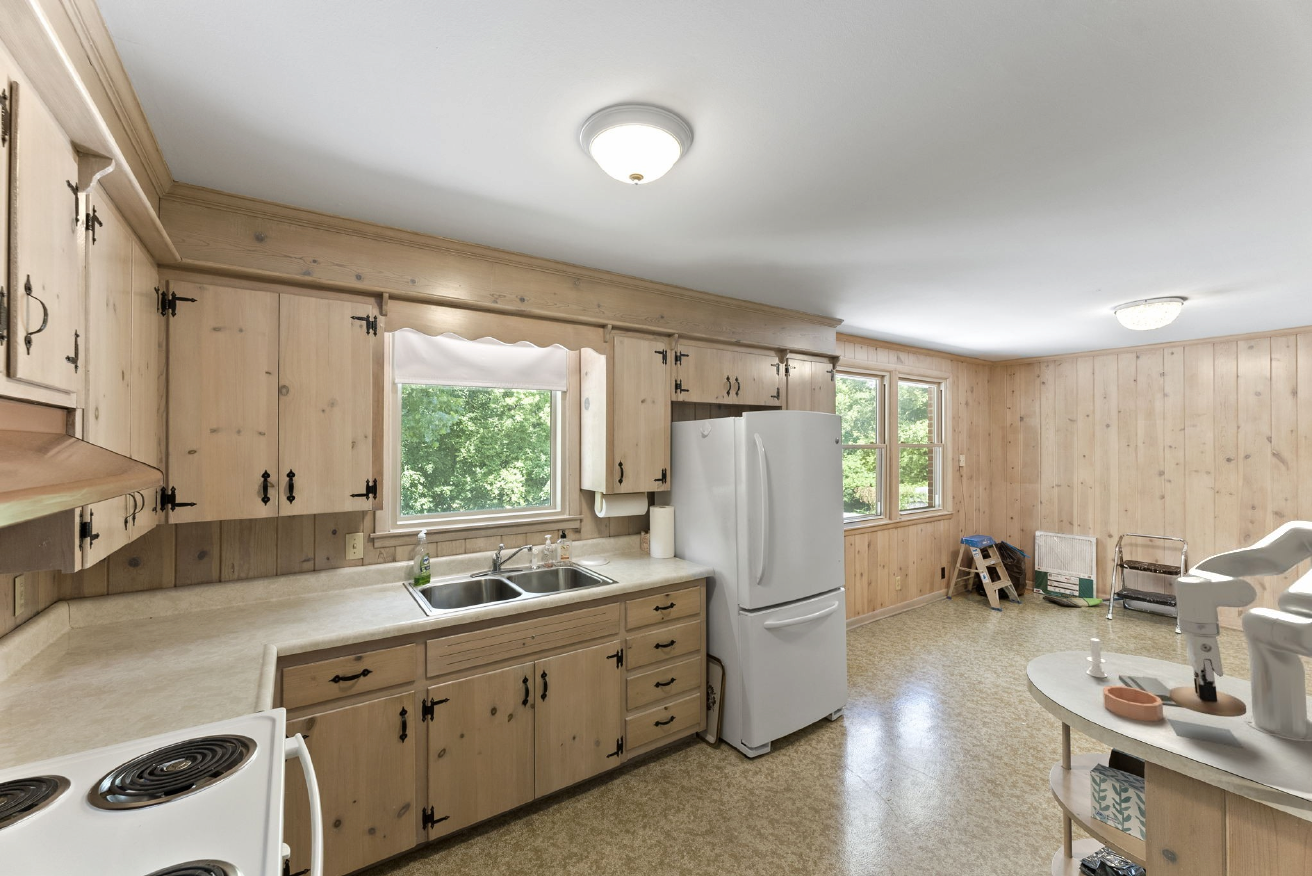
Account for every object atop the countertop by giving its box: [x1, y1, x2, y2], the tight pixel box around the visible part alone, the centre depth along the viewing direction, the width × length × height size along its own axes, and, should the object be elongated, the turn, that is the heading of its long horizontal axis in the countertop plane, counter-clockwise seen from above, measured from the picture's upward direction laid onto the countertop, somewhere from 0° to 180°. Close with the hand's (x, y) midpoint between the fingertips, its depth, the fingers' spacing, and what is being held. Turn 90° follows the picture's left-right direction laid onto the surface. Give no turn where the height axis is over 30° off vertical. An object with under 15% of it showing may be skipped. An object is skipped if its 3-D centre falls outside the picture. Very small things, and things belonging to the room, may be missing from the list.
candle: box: [1086, 637, 1108, 678], centre depth 181 cm, size 5×5×12 cm
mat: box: [1167, 718, 1244, 749], centre depth 142 cm, size 12×10×1 cm
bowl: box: [1102, 685, 1164, 722], centre depth 155 cm, size 12×12×5 cm
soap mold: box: [1118, 674, 1183, 708], centre depth 166 cm, size 10×20×4 cm, turn 157°
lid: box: [1170, 677, 1247, 718], centre depth 142 cm, size 14×14×6 cm
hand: (1206, 696), depth 142 cm, fingers closed on lid, 3 cm apart
